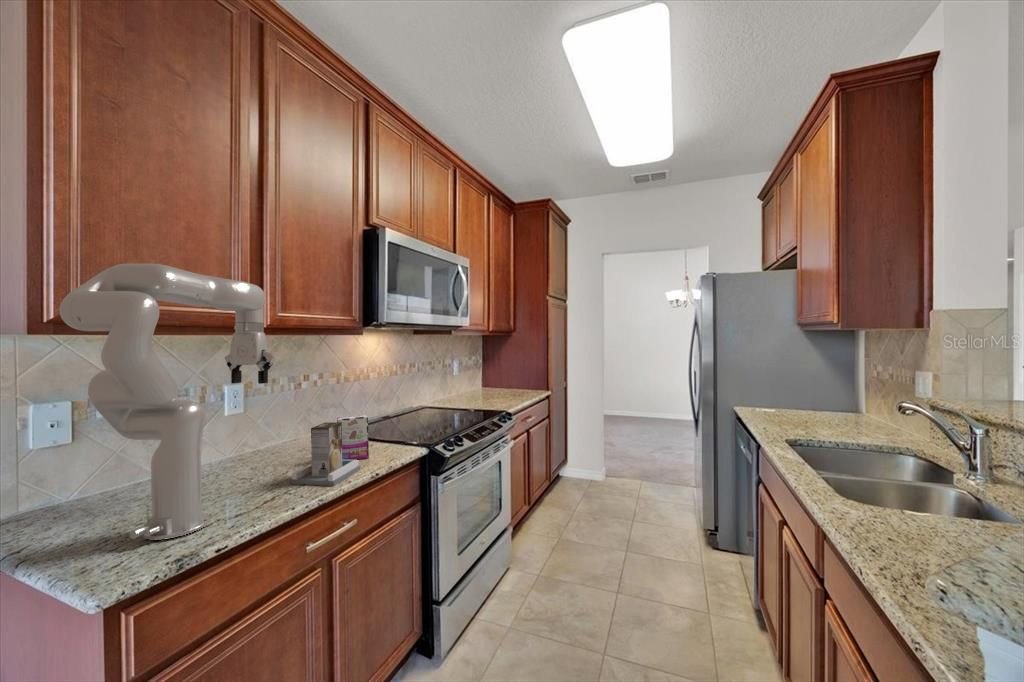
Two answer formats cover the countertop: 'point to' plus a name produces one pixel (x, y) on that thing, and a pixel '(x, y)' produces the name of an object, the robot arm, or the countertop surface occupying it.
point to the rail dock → (333, 478)
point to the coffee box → (326, 448)
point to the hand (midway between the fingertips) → (249, 383)
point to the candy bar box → (354, 437)
